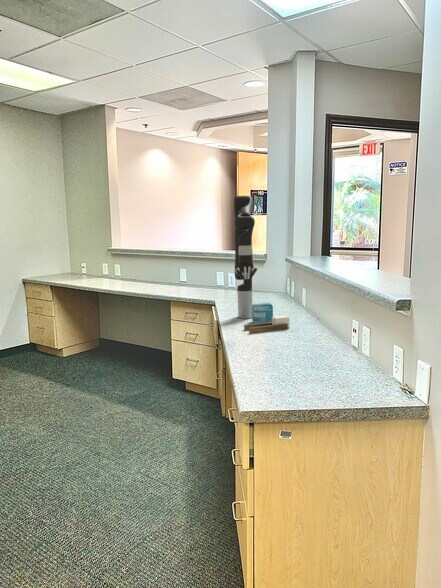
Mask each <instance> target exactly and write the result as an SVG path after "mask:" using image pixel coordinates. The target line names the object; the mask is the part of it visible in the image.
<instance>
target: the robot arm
mask: <svg viewBox="0 0 441 588" xmlns="http://www.w3.org/2000/svg"><path fill="white" fill-rule="evenodd" d="M253 203H254V200H253V197H252V196H251V195H236V196H234V199H233V212H234V252H235V254H234V256H235V257H234V278H235V280H236V281H243V283H242V284H240V285H237V288H236V289H237V318H239V319H252V318H251V317H252V305H253V277H254V276H255V274H256V272H257V271H258V268H257V267H255V266H254V263H253V261H254V260H253V259H254V258H253V257H254V256H253V253H254V252H253V231H254V227H255V224H256V220H255V218H254V216H252V210H253V206H254V205H253Z"/></svg>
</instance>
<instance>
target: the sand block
mask: <svg viewBox="0 0 441 588" xmlns="http://www.w3.org/2000/svg"><path fill="white" fill-rule="evenodd" d="M279 324H288V329H289V328H290V316H288V315H277V316H273V317H272V325H279Z"/></svg>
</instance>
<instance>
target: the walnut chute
mask: <svg viewBox="0 0 441 588" xmlns="http://www.w3.org/2000/svg"><path fill="white" fill-rule="evenodd" d="M288 329H289V328H288V324H279V325H272V322H267V323H251V324H244V325H243V331H248V333H249V334H251V335H252V334H257V333H258V334H259V333H266V332H274V331H275V332H276V331H281V330H282V331H283V330H288Z"/></svg>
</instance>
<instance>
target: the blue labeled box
mask: <svg viewBox="0 0 441 588" xmlns="http://www.w3.org/2000/svg"><path fill="white" fill-rule="evenodd" d="M272 317H274V306H273V304H272V303H271V302H265V303H264V302H263V303H262V302H261V303H260V302H259V303H252V318H251V322H252V323H251V324H258V323H267V322H272Z"/></svg>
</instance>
